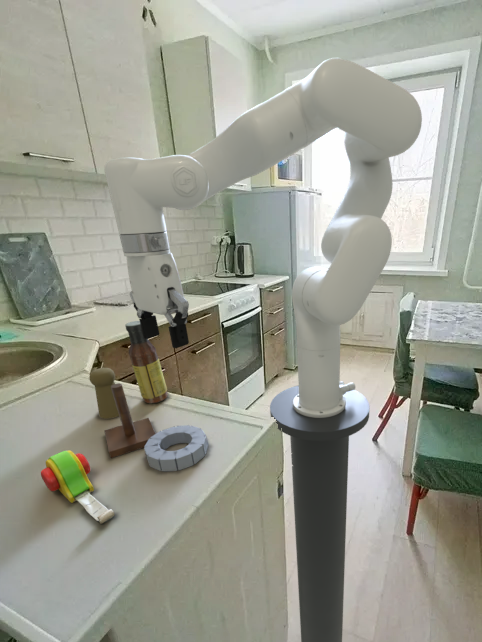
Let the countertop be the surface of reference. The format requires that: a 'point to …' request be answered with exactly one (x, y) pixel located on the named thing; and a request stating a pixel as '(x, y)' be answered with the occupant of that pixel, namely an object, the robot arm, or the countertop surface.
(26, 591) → the countertop surface
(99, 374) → the cork
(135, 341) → the sauce bottle
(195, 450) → the segmented block ring
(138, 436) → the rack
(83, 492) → the toy measuring tape
